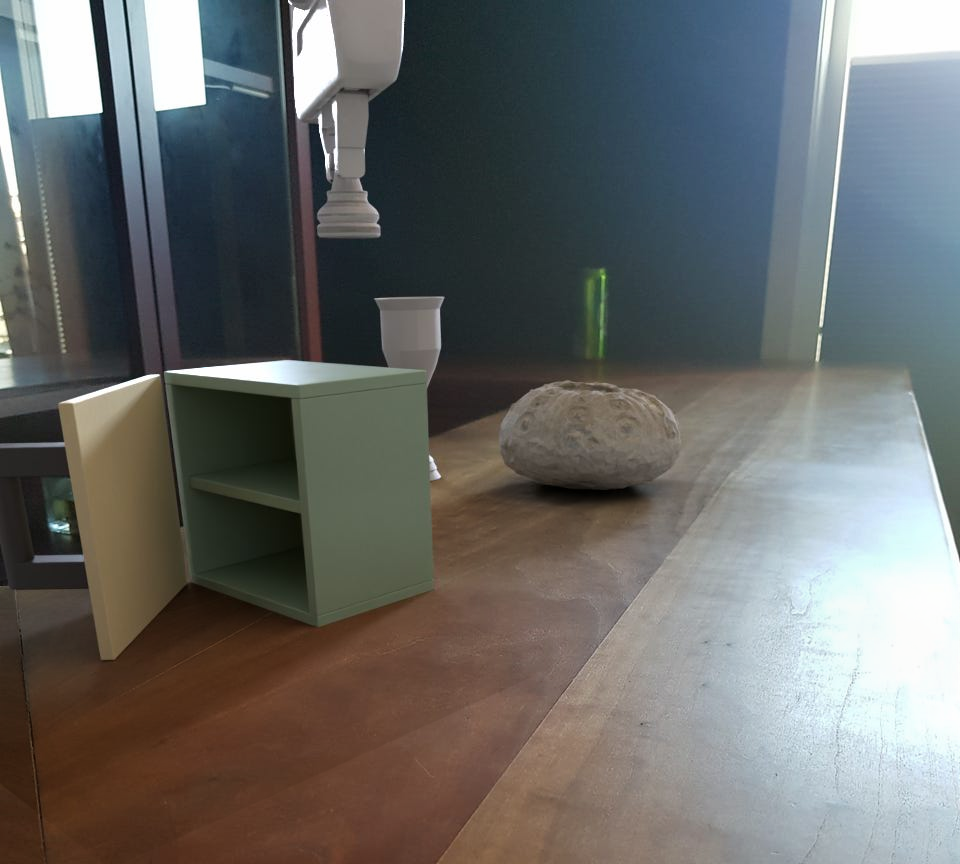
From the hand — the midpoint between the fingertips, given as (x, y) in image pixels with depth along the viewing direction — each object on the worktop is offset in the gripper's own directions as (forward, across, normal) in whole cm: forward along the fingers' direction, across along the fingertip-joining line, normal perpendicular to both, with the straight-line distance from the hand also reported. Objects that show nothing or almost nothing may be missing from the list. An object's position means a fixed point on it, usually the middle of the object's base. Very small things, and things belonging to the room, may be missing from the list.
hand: (345, 181), depth 67 cm
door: (+26, +10, -18) cm, 34 cm away
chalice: (+26, -27, +11) cm, 39 cm away
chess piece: (+4, 0, 0) cm, 4 cm away
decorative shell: (+26, -16, +26) cm, 40 cm away
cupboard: (+26, +8, -5) cm, 28 cm away
